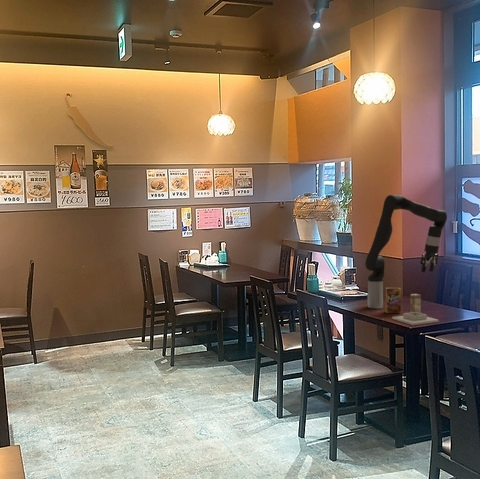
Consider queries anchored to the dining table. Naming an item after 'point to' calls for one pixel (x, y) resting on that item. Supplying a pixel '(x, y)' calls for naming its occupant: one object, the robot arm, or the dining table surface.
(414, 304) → the beige capped cylinder
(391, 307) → the candy box
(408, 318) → the holder
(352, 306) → the dining table surface
